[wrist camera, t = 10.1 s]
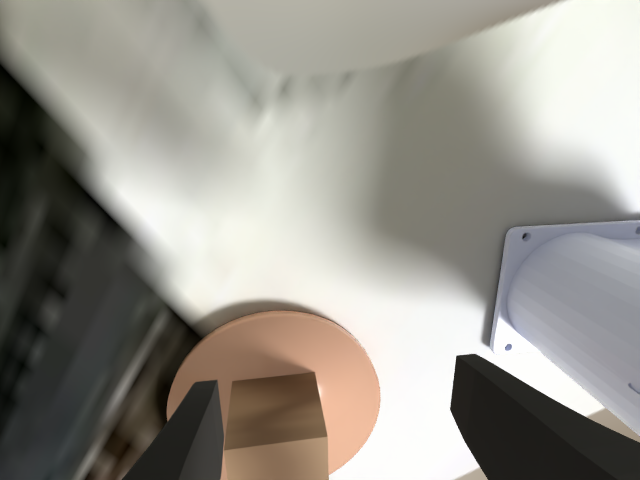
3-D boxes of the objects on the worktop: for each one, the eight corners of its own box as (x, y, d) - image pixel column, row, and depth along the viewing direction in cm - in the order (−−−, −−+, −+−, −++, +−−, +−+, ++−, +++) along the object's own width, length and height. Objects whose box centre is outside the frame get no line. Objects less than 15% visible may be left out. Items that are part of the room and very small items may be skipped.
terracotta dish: (379, 300, 21) (384, 309, 20) (372, 463, 25) (376, 477, 24) (156, 317, 20) (150, 328, 19) (184, 488, 23) (181, 504, 22)
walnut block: (314, 371, 21) (327, 436, 17) (316, 435, 22) (329, 510, 18) (232, 380, 20) (223, 450, 16) (239, 445, 22) (233, 525, 17)
